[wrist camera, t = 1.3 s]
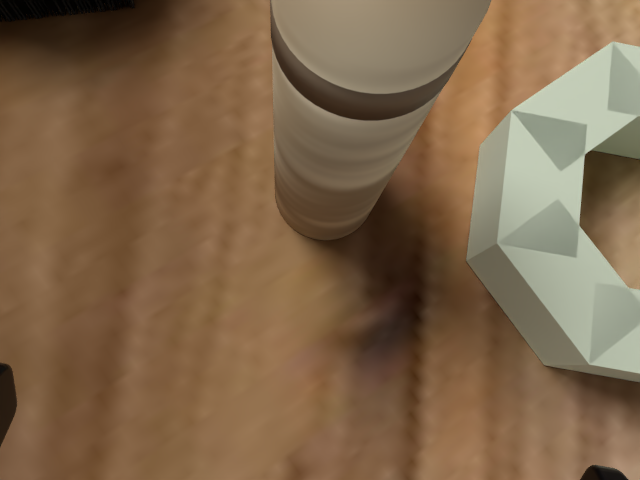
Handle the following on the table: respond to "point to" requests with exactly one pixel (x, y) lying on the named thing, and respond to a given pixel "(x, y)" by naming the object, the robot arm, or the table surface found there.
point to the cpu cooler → (53, 7)
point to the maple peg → (355, 98)
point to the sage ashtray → (560, 218)
